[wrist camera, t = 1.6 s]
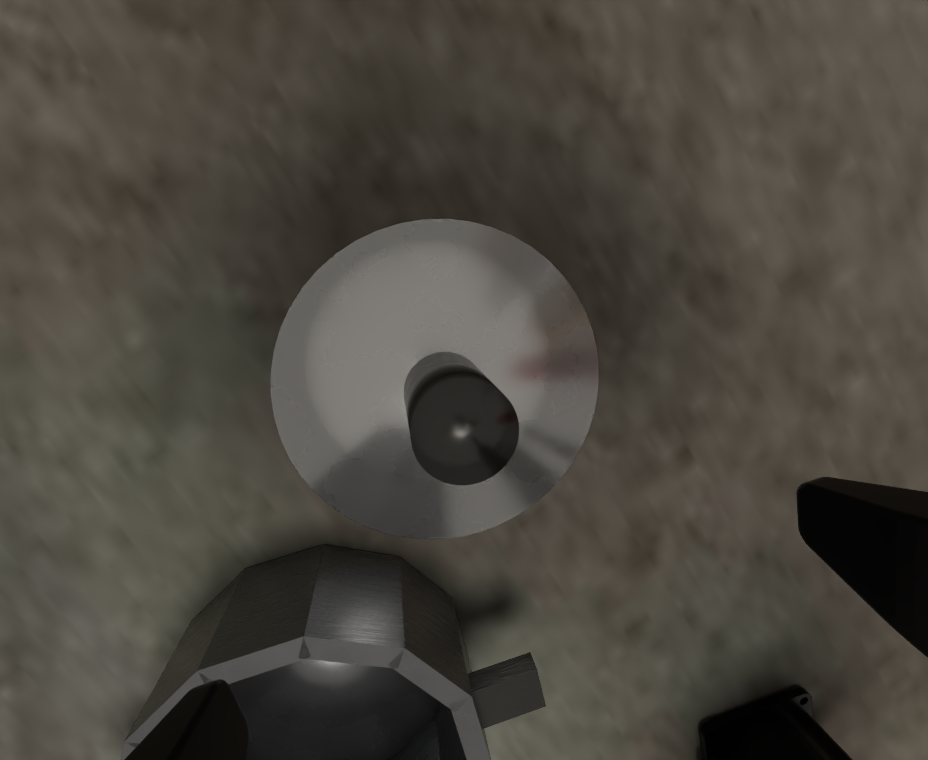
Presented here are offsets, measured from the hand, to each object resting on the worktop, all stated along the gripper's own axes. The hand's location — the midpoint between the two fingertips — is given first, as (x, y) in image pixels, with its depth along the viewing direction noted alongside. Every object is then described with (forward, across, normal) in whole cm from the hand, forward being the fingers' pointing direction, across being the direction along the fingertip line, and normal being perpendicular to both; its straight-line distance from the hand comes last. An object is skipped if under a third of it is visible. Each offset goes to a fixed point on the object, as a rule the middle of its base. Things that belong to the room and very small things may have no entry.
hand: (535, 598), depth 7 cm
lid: (+12, 0, 0) cm, 12 cm away
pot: (+12, +8, +11) cm, 18 cm away
